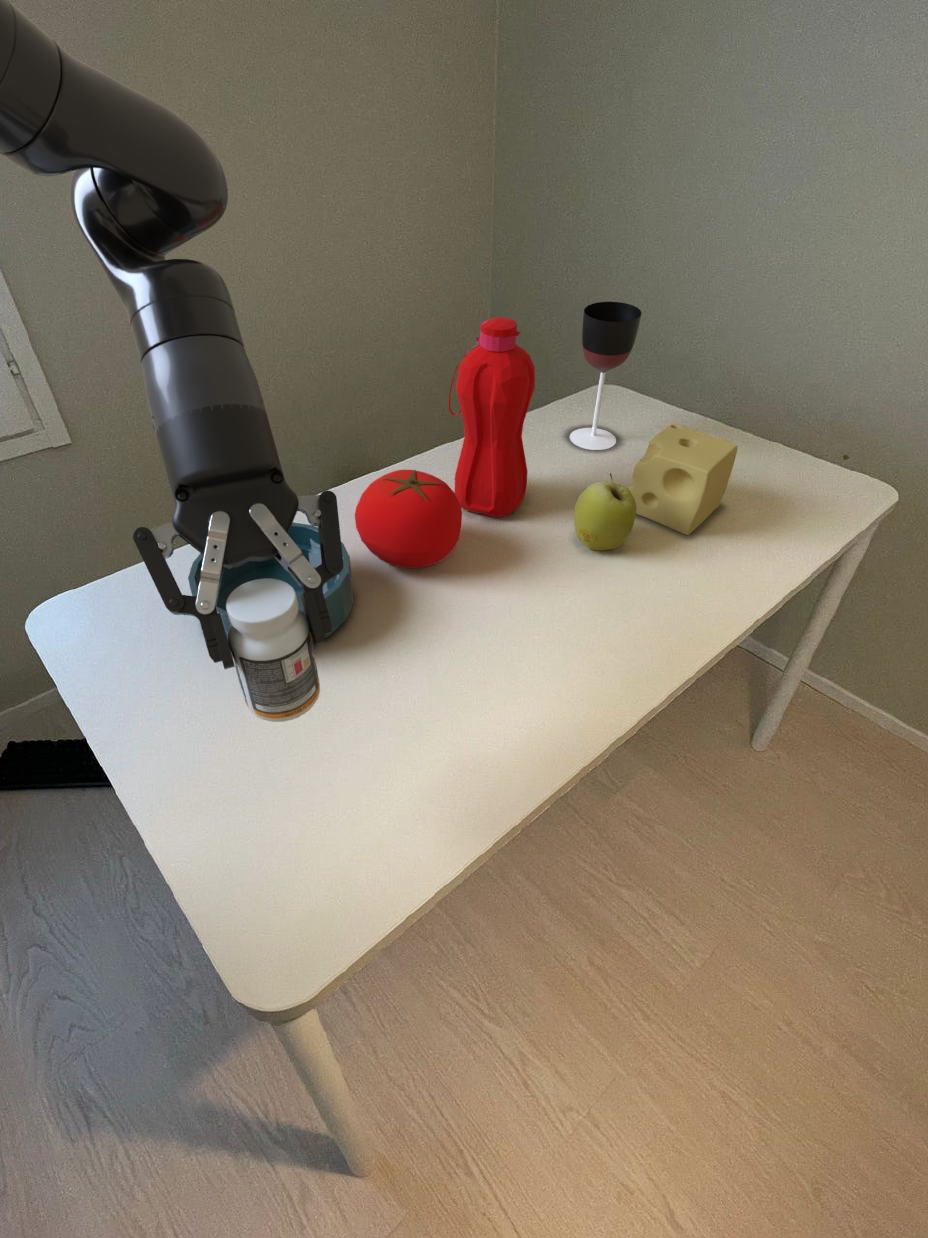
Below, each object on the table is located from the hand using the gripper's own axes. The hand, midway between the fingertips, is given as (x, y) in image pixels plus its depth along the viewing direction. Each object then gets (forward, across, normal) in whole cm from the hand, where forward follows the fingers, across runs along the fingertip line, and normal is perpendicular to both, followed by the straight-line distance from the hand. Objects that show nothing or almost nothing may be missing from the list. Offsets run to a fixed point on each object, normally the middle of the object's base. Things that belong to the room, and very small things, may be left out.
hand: (276, 654), depth 49 cm
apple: (-4, +46, +32) cm, 56 cm away
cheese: (-6, +60, +34) cm, 69 cm away
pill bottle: (+3, 0, +6) cm, 7 cm away
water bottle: (-14, +36, +42) cm, 57 cm away
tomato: (-9, +22, +37) cm, 44 cm away
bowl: (-6, +4, +34) cm, 35 cm away
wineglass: (-21, +60, +49) cm, 80 cm away
